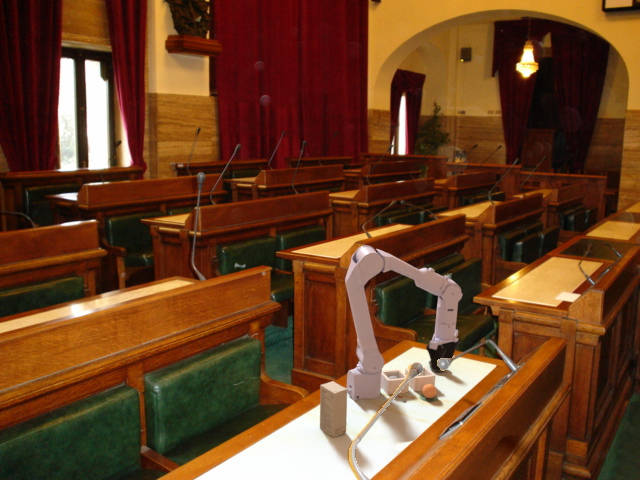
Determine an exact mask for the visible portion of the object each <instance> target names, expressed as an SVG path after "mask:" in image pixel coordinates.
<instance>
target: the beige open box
mask: <svg viewBox="0 0 640 480" xmlns="http://www.w3.org/2000/svg"><path fill="white" fill-rule="evenodd" d="M422 367H423V372H422V373H421V374H420V375H418V376H416V377H414V378H413V379H411V380H410V381H409V388H410V389H411V390H412V391H413V392H421V391H422V390H423V387H424V386H425V385H427V384H432V385H434V386H435V385H436V374H435V373H433V372H432V370H431V369H429V368H428V367H426V366H422ZM409 368H410V367H409ZM409 368H405V371H404V374H405V375H406V376H407V374H408V372H409ZM435 387H436V386H435Z"/></svg>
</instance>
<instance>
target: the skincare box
mask: <svg viewBox="0 0 640 480" xmlns="http://www.w3.org/2000/svg"><path fill="white" fill-rule="evenodd" d="M319 387H320V388H319V389H320V397H319V399H320V400H319V401H320V402H319V403H320V404H319V428H320V429H321V430H322V431H324V432H325V433H326V434H328V435H330V437H331V436H332V437H333V438H335V437H338V436H340V435H343V434H346V433H347V414H348V413H347V411H348V393H347V387H345V386H342V385H341V384H339V383H337V382H335V381H334V380H332V381H329V382H325V383H322V384H320V386H319Z"/></svg>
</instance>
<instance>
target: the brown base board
mask: <svg viewBox="0 0 640 480" xmlns="http://www.w3.org/2000/svg"><path fill="white" fill-rule="evenodd" d="M397 398H398V399H403V395H402V396H401V395H398V396H397ZM419 399H420V400H422V401H424V402H427V403H434V402H437V401H438V400H439V397H438V396H437V395H435V397H433V398H426V397H425V396H424V395H423V393H422V394H420V395H419ZM401 402H402V403H405V404H406V403H407V402H408V401H407V400H406V399H403V400H401Z"/></svg>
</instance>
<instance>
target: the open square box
mask: <svg viewBox="0 0 640 480" xmlns="http://www.w3.org/2000/svg"><path fill="white" fill-rule="evenodd" d="M391 376H396V377H398V379H389V377H391ZM405 378H406V375H405V372H403V370H401V369H397V368H396V369H389V370H382V376H381V389H382V390H383V392H384V393H385V394H386V395H394V394H393V393H394V392H395V391H396V389H397V388H398V387H399V385H400V384H401V383H402V382H403V381H404V380H405ZM409 388H410V387H409V382H408V383H407V384H406V385H405V386H404V388H403V389H402V390H401V392H400V393H399V394H404V393H409Z"/></svg>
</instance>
